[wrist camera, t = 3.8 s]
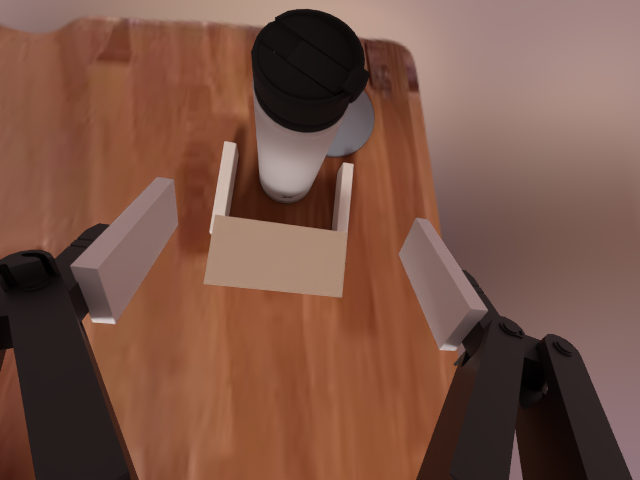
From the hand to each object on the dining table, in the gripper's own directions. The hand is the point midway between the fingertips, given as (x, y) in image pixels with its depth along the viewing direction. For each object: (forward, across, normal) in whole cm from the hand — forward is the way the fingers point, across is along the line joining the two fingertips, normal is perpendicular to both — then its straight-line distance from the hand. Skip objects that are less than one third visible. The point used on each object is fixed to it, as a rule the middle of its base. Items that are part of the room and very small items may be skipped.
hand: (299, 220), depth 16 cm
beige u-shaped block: (+15, -1, -10) cm, 18 cm away
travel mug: (+19, -1, -6) cm, 20 cm away
